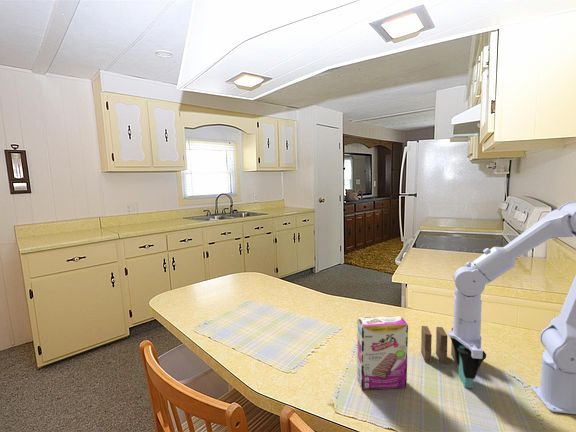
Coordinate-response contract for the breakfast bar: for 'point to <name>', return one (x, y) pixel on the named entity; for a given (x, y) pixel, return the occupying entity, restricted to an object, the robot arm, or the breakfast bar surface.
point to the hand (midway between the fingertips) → (465, 370)
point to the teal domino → (466, 381)
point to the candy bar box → (382, 352)
